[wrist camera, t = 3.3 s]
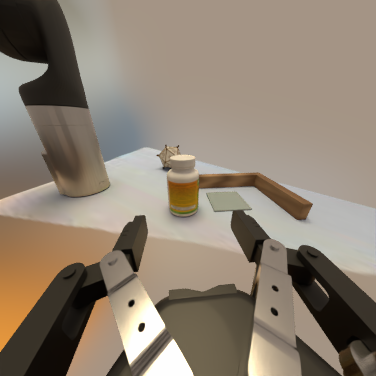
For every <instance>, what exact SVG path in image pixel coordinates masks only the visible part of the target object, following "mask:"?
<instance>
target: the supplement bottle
mask: <svg viewBox="0 0 376 376" xmlns="http://www.w3.org/2000/svg"><path fill="white" fill-rule="evenodd" d="M170 165H171V167H172V169H170V170H169V171H168V173H167V186H168V199H169V209H170V211H171V213H173V214H174V215H176V216H181V217H186V216H190V215H193V214H194V213H196V212H197V210H198V192H199V173H198V171H197V170H196V169H194V167H195V157H194V156H191V155H175V156H171V157H170Z"/></svg>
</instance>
